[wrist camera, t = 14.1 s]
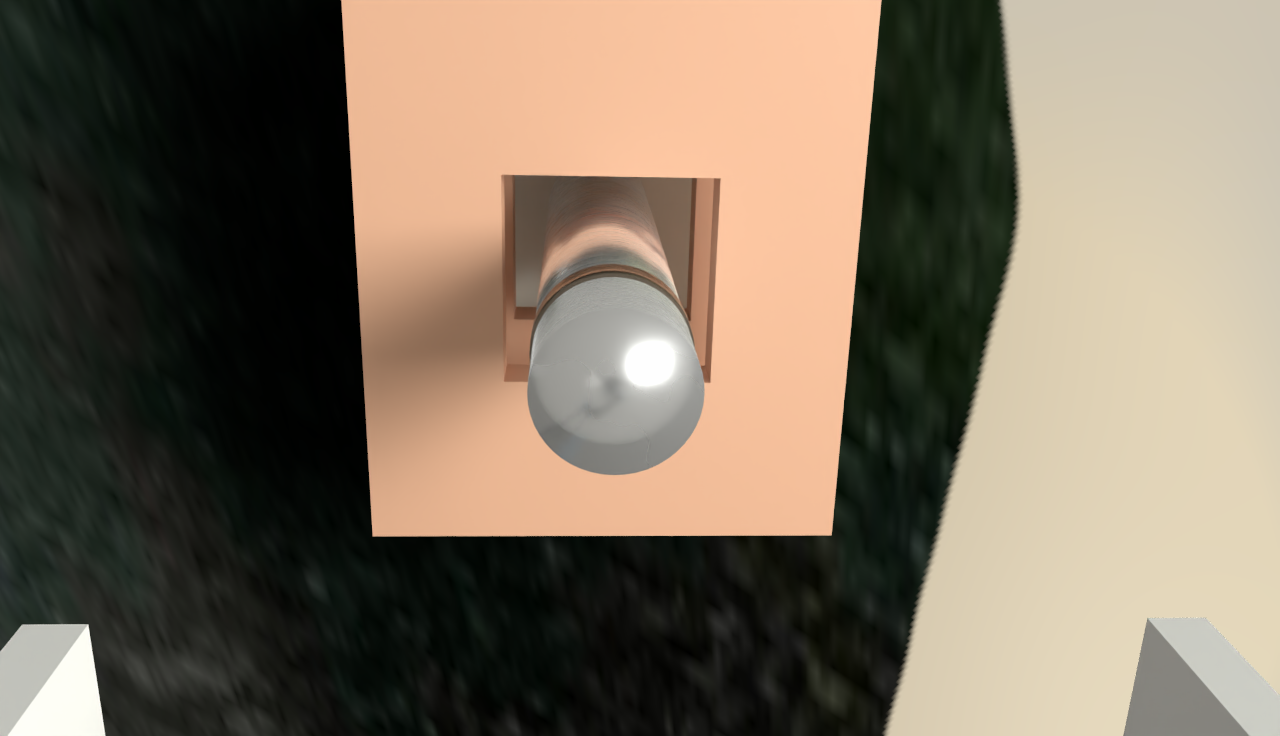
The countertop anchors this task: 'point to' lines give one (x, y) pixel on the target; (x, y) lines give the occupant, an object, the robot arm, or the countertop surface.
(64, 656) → the robot arm
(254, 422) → the countertop surface
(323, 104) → the countertop surface
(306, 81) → the countertop surface
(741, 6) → the tissue box
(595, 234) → the metal tube
